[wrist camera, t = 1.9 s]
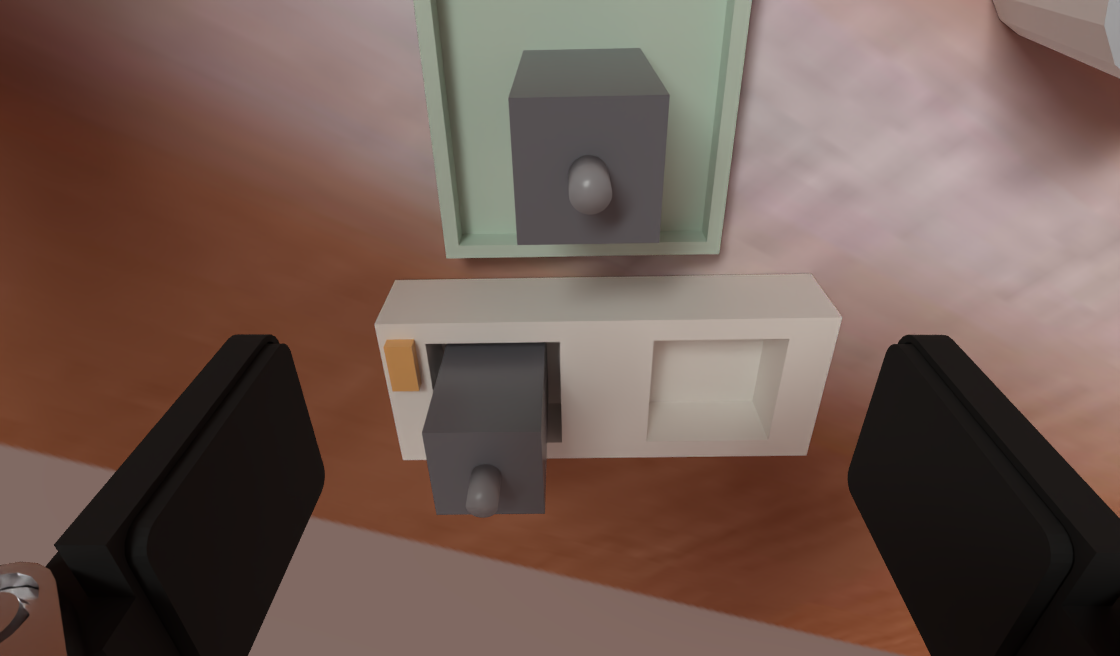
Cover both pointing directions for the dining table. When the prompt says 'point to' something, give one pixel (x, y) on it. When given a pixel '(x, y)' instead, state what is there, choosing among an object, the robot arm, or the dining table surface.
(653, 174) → the plug
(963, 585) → the robot arm
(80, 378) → the dining table surface
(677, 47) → the tray
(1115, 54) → the white cup
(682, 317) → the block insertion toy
